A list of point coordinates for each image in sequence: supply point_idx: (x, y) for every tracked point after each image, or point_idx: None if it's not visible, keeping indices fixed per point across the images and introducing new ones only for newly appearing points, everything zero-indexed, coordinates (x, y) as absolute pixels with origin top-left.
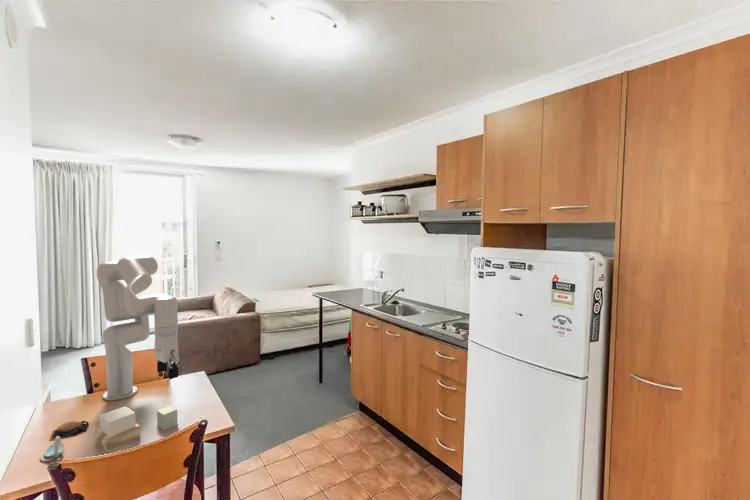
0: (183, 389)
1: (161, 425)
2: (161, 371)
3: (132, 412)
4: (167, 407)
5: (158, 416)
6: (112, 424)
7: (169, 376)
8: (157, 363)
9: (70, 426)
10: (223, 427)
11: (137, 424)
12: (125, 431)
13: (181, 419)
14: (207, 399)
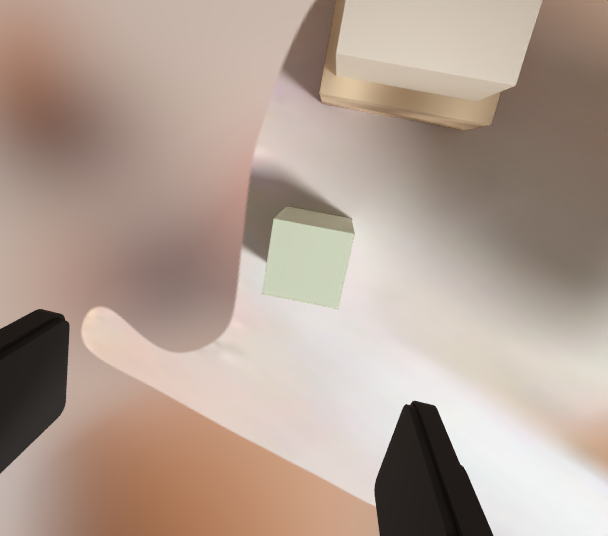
0: (544, 498)
1: (308, 212)
2: (394, 435)
3: (358, 43)
4: (332, 285)
5: (337, 224)
6: None
7: (15, 326)
8: (473, 530)
9: None
10: (84, 329)
11: (345, 95)
12: (336, 4)
13: (298, 304)
14: (347, 467)
